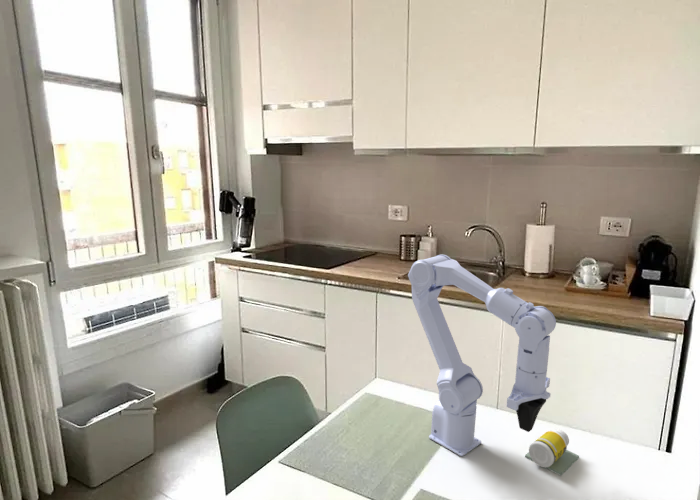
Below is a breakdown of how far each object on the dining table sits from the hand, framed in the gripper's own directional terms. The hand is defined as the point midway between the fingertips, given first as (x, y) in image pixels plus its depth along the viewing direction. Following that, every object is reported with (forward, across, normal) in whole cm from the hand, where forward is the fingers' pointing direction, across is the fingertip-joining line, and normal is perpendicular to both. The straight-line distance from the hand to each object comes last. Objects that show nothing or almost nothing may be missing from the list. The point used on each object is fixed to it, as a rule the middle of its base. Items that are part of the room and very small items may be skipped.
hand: (525, 428), depth 96 cm
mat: (+10, +10, -2) cm, 15 cm away
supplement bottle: (+7, +4, -2) cm, 8 cm away
